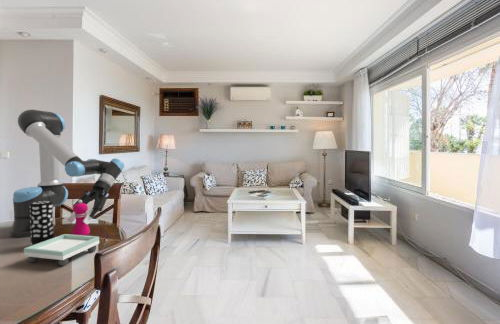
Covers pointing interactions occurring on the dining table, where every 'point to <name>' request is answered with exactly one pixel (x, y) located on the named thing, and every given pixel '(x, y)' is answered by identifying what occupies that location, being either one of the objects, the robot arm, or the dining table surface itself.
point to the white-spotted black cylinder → (41, 221)
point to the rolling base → (61, 247)
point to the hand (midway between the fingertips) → (77, 222)
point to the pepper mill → (80, 219)
